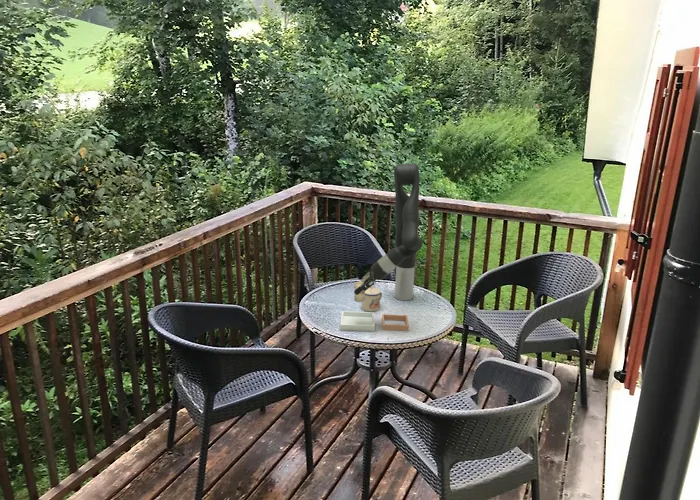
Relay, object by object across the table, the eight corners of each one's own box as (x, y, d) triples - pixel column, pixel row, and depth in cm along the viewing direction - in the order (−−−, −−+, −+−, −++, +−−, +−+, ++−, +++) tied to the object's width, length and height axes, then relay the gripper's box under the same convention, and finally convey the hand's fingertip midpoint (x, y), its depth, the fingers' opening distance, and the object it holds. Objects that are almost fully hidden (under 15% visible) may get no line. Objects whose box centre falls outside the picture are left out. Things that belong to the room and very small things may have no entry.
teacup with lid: (370, 313, 266) (371, 290, 263) (357, 307, 272) (358, 285, 269) (387, 307, 274) (389, 285, 271) (374, 301, 280) (375, 279, 277)
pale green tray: (341, 316, 262) (341, 311, 261) (373, 318, 261) (374, 312, 260) (340, 330, 247) (340, 324, 246) (374, 332, 247) (374, 326, 246)
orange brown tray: (381, 319, 261) (382, 314, 260) (406, 320, 260) (407, 315, 260) (382, 329, 249) (382, 324, 249) (408, 331, 249) (408, 325, 249)
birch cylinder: (354, 297, 253) (355, 281, 250) (364, 298, 253) (365, 281, 250) (354, 301, 248) (354, 284, 246) (364, 302, 248) (365, 285, 246)
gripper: (377, 255, 252) (349, 279, 255) (378, 266, 238) (349, 291, 242) (388, 267, 253) (361, 291, 257) (390, 278, 240) (361, 303, 243)
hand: (355, 291), depth 249 cm, fingers closed on birch cylinder, 4 cm apart
